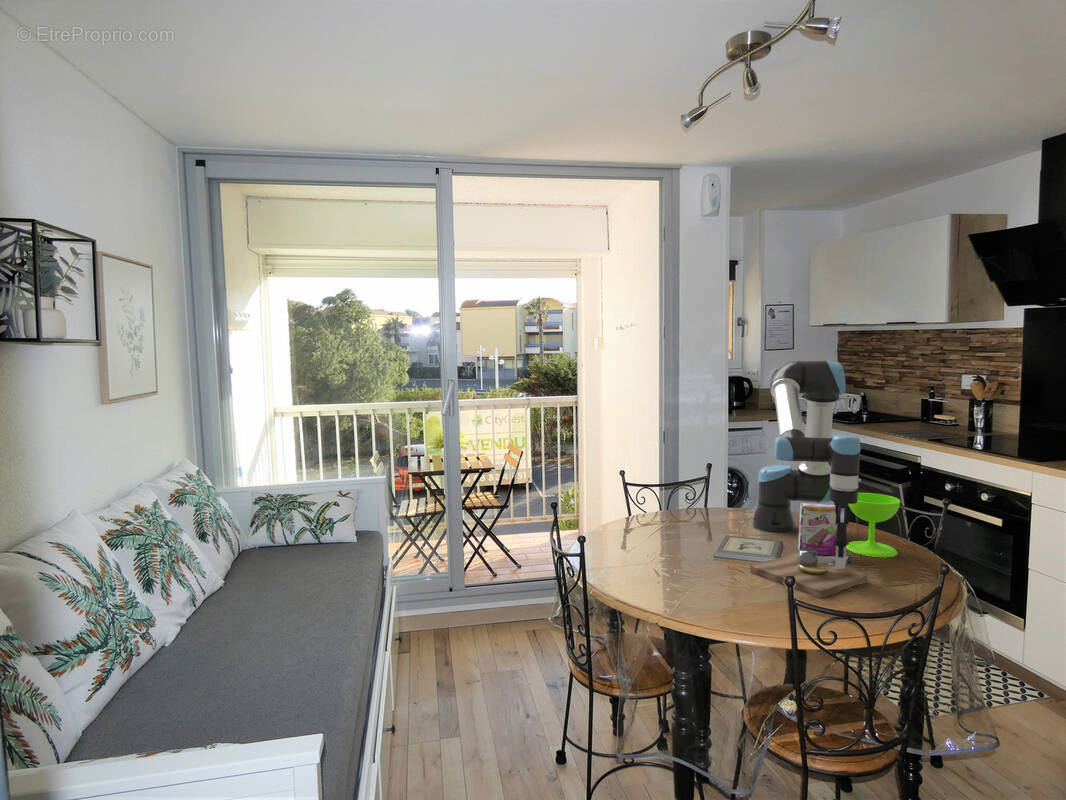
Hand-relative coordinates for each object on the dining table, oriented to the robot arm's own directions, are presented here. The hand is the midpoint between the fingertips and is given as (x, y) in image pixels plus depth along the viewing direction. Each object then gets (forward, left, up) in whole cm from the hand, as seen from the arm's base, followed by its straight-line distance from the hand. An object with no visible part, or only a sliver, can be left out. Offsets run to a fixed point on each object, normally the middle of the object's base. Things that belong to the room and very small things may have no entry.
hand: (840, 566), depth 192 cm
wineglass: (-11, +34, -4) cm, 36 cm away
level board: (-7, -6, -4) cm, 10 cm away
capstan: (-3, -2, -2) cm, 4 cm away
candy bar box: (-19, +16, -4) cm, 25 cm away
